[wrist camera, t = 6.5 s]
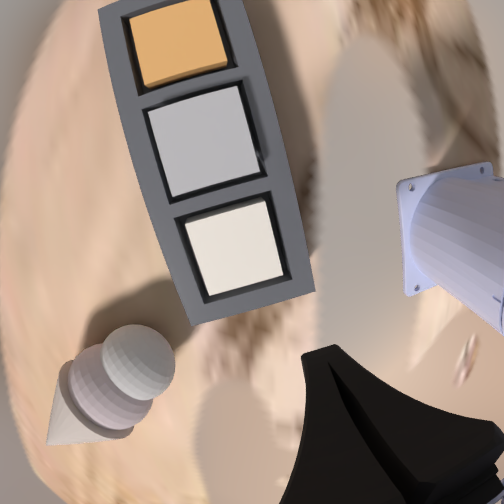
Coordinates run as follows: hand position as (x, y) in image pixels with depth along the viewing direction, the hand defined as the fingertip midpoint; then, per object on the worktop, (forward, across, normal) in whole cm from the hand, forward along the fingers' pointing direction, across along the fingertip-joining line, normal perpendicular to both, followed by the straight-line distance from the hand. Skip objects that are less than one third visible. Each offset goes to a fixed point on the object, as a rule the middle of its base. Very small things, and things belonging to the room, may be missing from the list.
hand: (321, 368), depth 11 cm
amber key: (+6, +2, -14) cm, 15 cm away
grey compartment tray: (+8, +2, -9) cm, 12 cm away
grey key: (+5, +2, -9) cm, 10 cm away
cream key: (+6, +2, -4) cm, 7 cm away
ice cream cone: (+8, +14, +4) cm, 17 cm away
